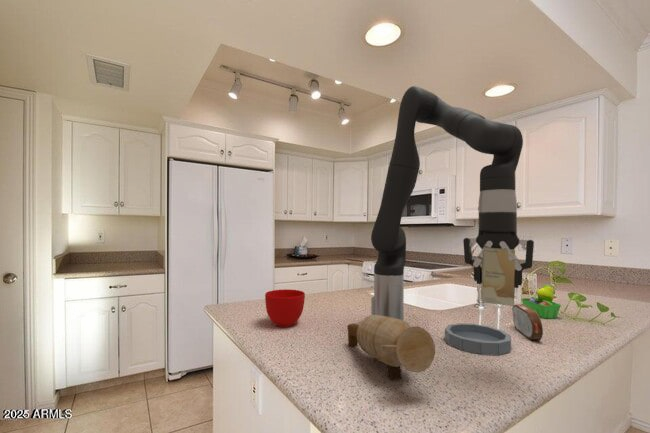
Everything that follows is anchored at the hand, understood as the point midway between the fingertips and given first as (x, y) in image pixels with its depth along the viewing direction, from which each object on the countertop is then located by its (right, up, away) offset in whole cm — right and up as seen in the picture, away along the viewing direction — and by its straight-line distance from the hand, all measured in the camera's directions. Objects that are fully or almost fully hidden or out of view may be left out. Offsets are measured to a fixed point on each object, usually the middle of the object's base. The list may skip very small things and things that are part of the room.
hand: (497, 285), depth 69 cm
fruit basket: (+43, -22, +47) cm, 67 cm away
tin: (+23, -21, +25) cm, 39 cm away
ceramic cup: (-52, -20, +34) cm, 66 cm away
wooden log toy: (-25, -19, +2) cm, 32 cm away
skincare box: (0, -4, 0) cm, 4 cm away
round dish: (+4, -20, +17) cm, 27 cm away
